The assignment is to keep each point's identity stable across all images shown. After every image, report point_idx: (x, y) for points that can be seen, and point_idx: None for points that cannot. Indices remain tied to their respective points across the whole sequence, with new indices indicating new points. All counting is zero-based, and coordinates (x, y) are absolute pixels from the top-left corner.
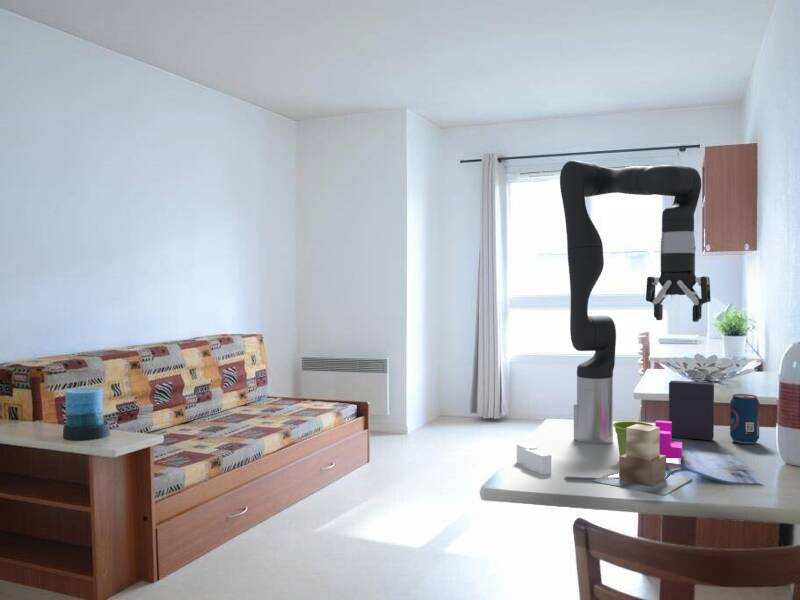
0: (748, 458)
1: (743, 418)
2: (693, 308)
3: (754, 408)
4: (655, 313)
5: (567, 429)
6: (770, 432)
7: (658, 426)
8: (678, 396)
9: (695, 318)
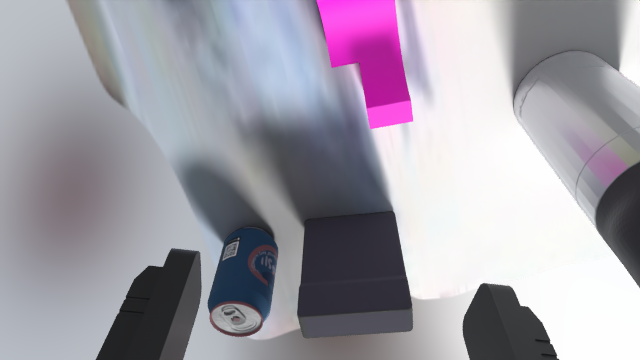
0: (200, 110)
1: (239, 261)
2: (155, 344)
3: (214, 286)
4: (534, 337)
5: None
6: None
7: (400, 94)
8: (382, 279)
9: (165, 261)
